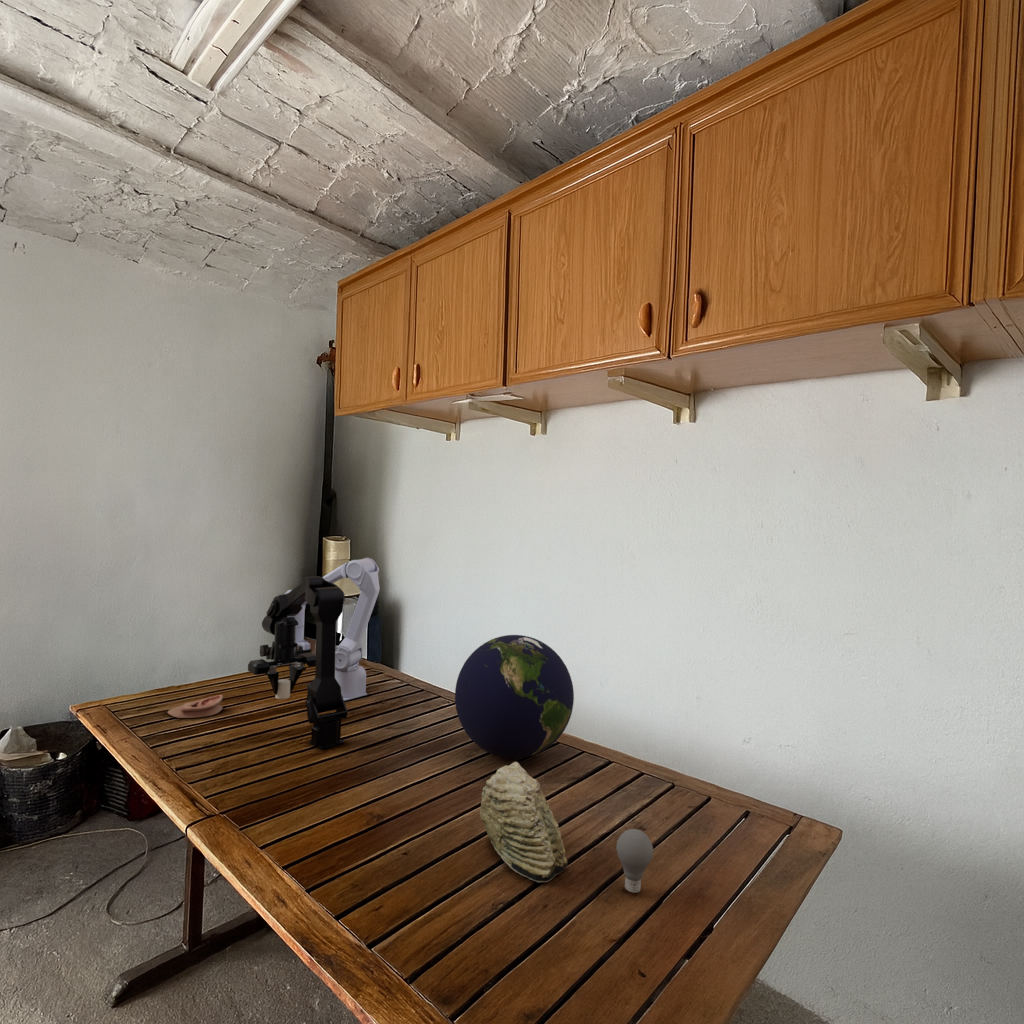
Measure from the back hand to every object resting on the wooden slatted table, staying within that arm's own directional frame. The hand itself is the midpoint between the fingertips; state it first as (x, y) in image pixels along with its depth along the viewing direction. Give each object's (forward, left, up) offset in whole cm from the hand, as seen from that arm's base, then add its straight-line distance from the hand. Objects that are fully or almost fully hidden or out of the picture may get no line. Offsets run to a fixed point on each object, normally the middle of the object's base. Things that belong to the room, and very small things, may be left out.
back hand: (293, 668), depth 205 cm
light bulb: (+22, +133, -7) cm, 135 cm away
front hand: (+15, +18, -1) cm, 23 cm away
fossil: (+26, +113, -7) cm, 116 cm away
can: (+15, +18, -2) cm, 23 cm away
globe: (-9, +84, -7) cm, 84 cm away
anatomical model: (+31, 0, -7) cm, 32 cm away
